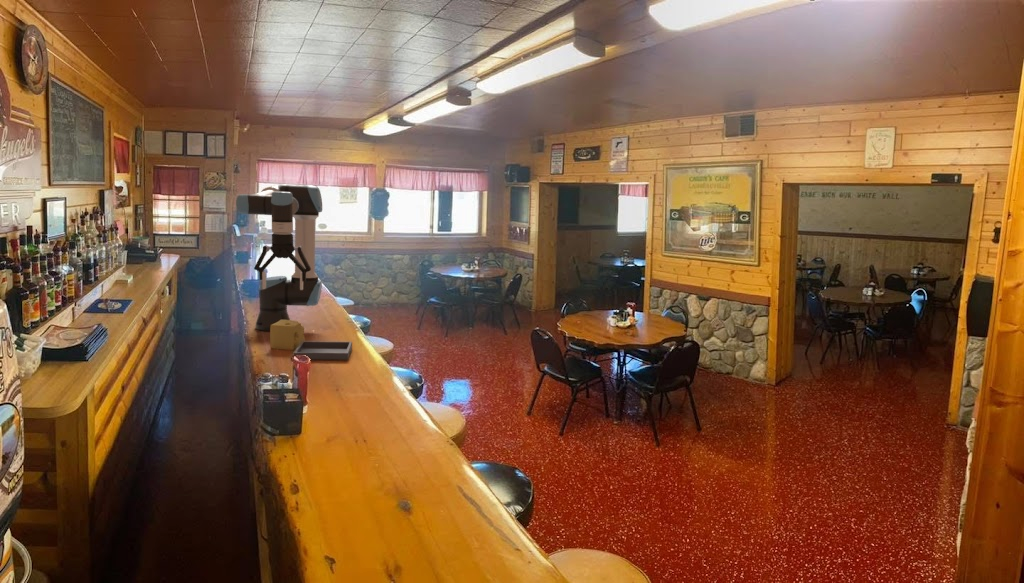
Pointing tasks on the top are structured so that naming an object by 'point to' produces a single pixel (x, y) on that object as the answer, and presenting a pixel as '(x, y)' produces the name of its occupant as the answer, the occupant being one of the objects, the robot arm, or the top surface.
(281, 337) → the cheese
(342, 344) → the tray
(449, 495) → the top surface
